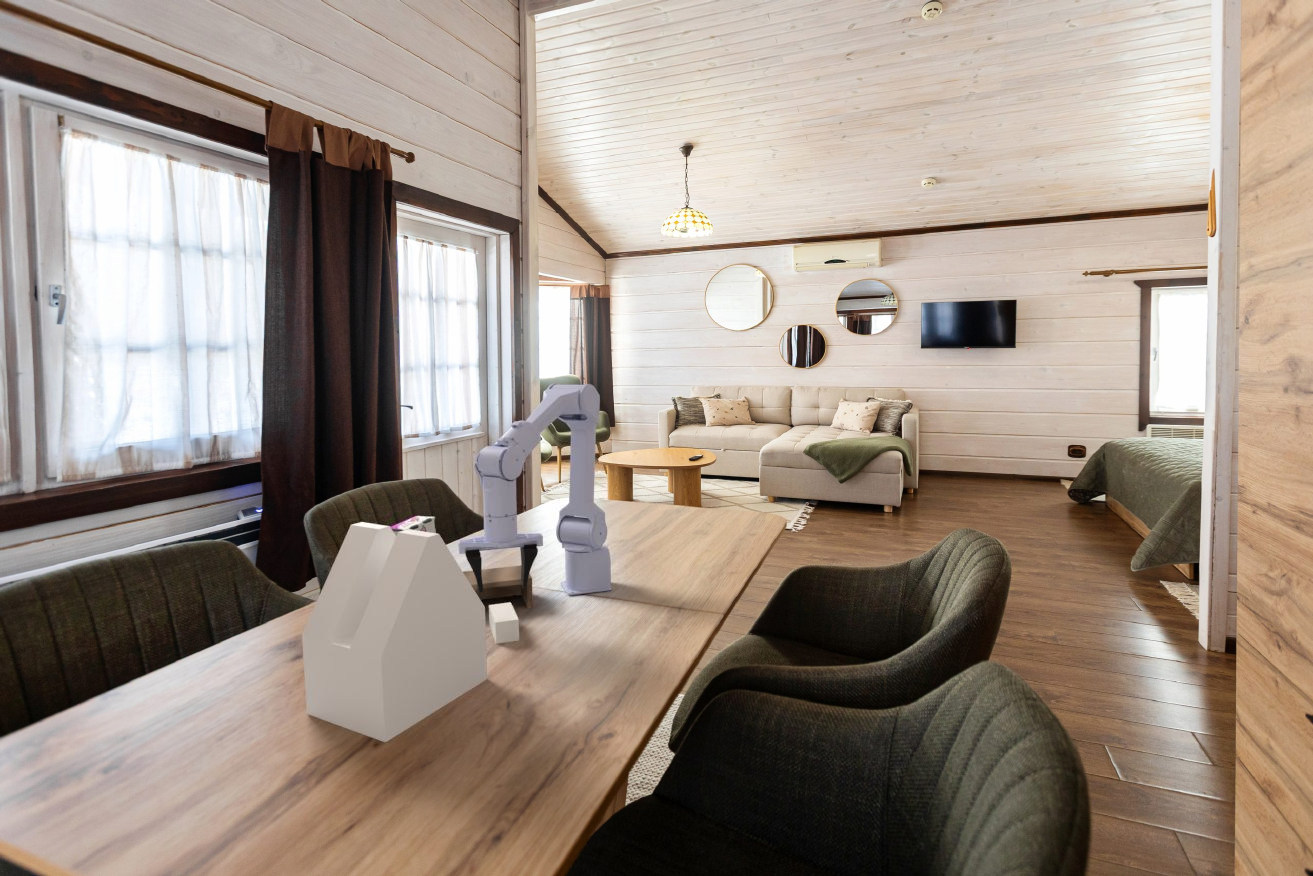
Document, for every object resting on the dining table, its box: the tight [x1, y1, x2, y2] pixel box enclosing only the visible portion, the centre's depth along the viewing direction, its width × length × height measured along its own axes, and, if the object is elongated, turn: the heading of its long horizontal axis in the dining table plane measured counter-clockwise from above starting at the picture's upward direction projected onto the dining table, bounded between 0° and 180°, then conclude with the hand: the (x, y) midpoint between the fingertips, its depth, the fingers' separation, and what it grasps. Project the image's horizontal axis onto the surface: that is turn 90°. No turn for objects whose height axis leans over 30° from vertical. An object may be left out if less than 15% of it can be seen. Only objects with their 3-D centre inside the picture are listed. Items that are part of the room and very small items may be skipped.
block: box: [488, 601, 520, 645], centre depth 120 cm, size 4×9×4 cm, turn 21°
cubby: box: [463, 564, 534, 609], centre depth 133 cm, size 14×9×6 cm, turn 110°
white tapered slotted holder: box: [301, 521, 488, 743], centre depth 96 cm, size 19×15×25 cm
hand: (502, 588), depth 119 cm, fingers open, 7 cm apart
